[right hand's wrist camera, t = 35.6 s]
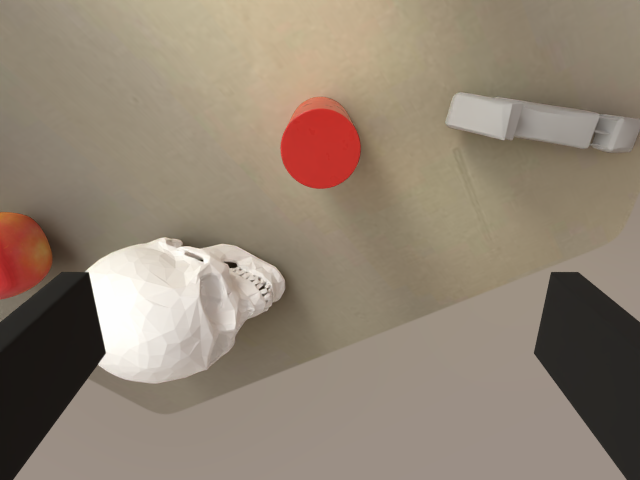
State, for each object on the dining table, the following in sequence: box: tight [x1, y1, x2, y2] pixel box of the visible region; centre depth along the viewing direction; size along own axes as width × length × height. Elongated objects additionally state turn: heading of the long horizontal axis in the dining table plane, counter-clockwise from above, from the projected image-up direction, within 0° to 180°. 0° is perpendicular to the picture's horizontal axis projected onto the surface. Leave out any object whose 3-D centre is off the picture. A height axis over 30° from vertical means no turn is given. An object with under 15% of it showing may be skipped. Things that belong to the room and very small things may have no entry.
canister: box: [281, 97, 361, 189], centre depth 43 cm, size 7×7×13 cm
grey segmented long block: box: [445, 92, 640, 153], centre depth 45 cm, size 20×4×7 cm, turn 82°
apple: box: [0, 212, 52, 300], centre depth 48 cm, size 10×10×10 cm
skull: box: [85, 237, 285, 383], centre depth 48 cm, size 13×22×16 cm, turn 94°
